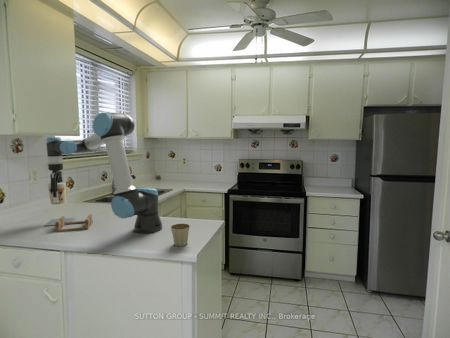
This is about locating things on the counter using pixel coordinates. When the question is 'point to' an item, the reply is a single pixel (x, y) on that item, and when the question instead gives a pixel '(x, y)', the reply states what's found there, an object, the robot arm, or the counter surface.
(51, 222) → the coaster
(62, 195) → the coffee cup
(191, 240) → the counter surface
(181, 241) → the flower pot
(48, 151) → the robot arm
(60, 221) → the cradle
